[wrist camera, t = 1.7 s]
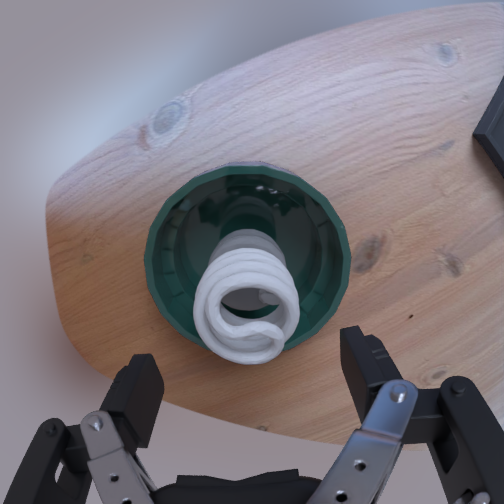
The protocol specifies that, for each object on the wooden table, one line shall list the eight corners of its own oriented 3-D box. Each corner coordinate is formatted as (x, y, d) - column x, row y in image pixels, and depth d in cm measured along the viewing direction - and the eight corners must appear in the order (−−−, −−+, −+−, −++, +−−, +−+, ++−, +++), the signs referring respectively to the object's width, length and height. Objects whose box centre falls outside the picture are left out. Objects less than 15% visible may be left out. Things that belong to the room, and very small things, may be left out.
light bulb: (199, 256, 26) (163, 342, 14) (240, 201, 24) (232, 254, 13) (254, 293, 27) (256, 395, 15) (296, 244, 25) (331, 324, 14)
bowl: (135, 267, 26) (113, 292, 22) (225, 125, 22) (219, 120, 18) (266, 347, 29) (268, 382, 24) (365, 230, 25) (389, 249, 20)
